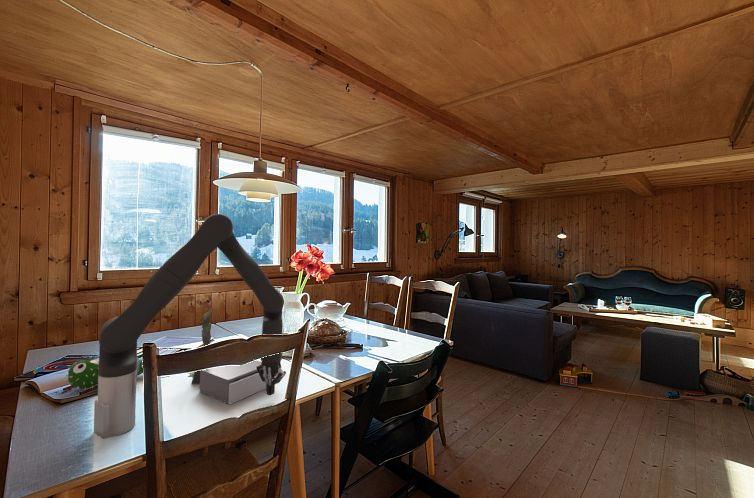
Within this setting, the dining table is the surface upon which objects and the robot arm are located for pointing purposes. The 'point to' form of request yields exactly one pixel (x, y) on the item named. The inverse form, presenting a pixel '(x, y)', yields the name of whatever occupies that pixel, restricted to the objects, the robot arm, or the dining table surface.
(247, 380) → the grey drawer
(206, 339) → the statue
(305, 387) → the dining table surface
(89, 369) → the toy
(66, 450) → the dining table surface
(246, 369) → the grey drawer cabinet
